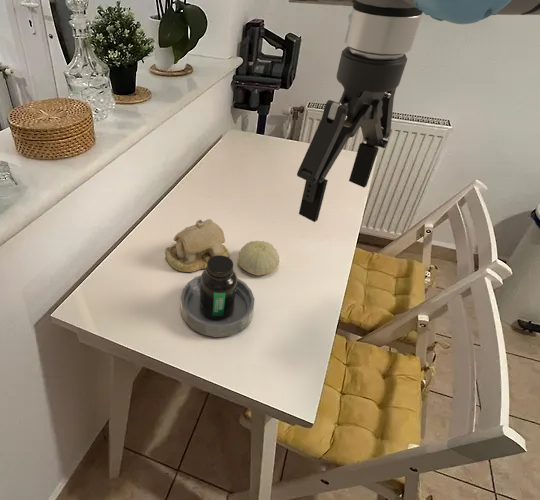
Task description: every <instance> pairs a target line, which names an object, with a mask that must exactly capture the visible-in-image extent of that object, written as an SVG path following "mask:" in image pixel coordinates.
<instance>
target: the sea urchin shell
mask: <svg viewBox="0 0 540 500" xmlns="http://www.w3.org/2000/svg"><path fill="white" fill-rule="evenodd" d="M237 263H238V266H240V268H242V270H244V271H245V272H247V273H248V274H252V275H254V276H259V277H260V276H264V275H268V274H270V273H273V272H274V271H275V270H277V269H278V268H279V266H280V255H279V253H278V251H277V249H276V247H274V245H273V244H272V243H270V242H268V241H264V240H251V241H249V242H247V243H245V244H244V245H243V246H242V247H241V249H240V251H239V252H238V256H237Z"/></svg>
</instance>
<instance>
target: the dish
mask: <svg viewBox="0 0 540 500" xmlns="http://www.w3.org/2000/svg"><path fill="white" fill-rule="evenodd" d="M200 285H201V275H198V276H194V278H192V279H191V280H189V281H188V282H187V283H186V285H185V286H184V287H183V288H182V291H181V295H180V311H181V316H182V318H183V319H184V322H185V323H186V324H187V326H189V327H190V328H191V329H192V330H194V331H195V332H197V333H199V334H201V335H203V336H207V337H213V338H214V337H215V338H222V337H223V338H224V337H230V336H234V335H236V334H238V333H240V332H242V331H243V330H244V329H245V328H246V327H248V326H249V324H250V323H251V321H252V319H253V315H254V309H255V297H254V294H253V291H252V289H251V288H250V287H249V286H248V284H247V283H246V282H244V281H243V280H242V279H240V278H239V277H237V288H236V296H235V305H234V310H233V313H232V314H231V315H230V316H229V317H228V318H226V319H223V320H212V319H209V318H207V317H206V316H204V315H203V313H202V312H201V310H200Z"/></svg>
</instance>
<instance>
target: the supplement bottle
mask: <svg viewBox="0 0 540 500" xmlns="http://www.w3.org/2000/svg"><path fill="white" fill-rule="evenodd" d="M200 276H201V285H200V310H201V312H202V313H203V315H204V316H206V317H207V318H209V319H212V320H223V319H226V318H228V317H229V316H230V315H231V314H232V313H233V310H234V305H235V296H236V288H237V278H238V276H237V274H236V272H235V271H234V262H233V260H232V259H231V258H230V257H229V258H228V257H226V256H221V255H217V256H213V257H211V258H210V259H209V260H208V262H207V267H206V268H205V269H203V271H202V273H201V275H200Z"/></svg>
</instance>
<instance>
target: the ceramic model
mask: <svg viewBox="0 0 540 500" xmlns="http://www.w3.org/2000/svg"><path fill="white" fill-rule="evenodd" d="M173 242H175V243H173V244H171V245H170V246H166V247H165V249H164V255H165V258H166V260H167V262H168V264H169V265H170V267H172V268H173V269H174V270H176V271H179V272H186V273H192V272H196V271H199V270H205V269H206V267H207V262H208V260H209V259H210V258H211V257H213V256H217V255H221V256H226V257H228V258H230V257H231V254H230V250H229V249H228V248H227V247H226V246H225V245H224V243H225V242H226V238H225V234H224V230H223V228H221V226H220V225H218V224H217V223H216V222H214V221H213V220H212V219H211V218H208V219H206V220H204V221H203V220H201V219H198V220H197V221H195V224H193V225H190V226H187V227H185V228H184V229H182V230H181V231H179V232H177V233H176V234H175V235H174V237H173Z"/></svg>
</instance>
